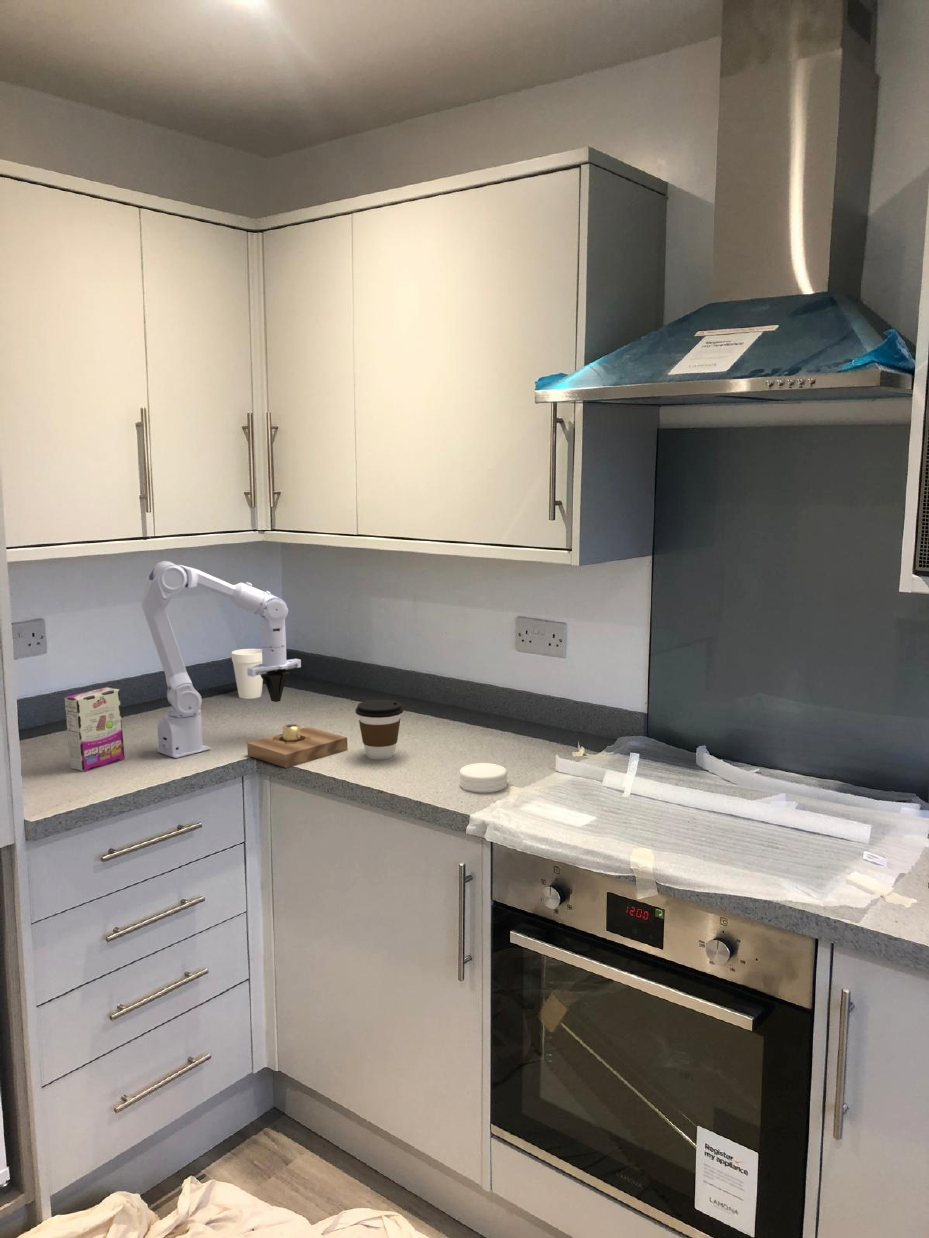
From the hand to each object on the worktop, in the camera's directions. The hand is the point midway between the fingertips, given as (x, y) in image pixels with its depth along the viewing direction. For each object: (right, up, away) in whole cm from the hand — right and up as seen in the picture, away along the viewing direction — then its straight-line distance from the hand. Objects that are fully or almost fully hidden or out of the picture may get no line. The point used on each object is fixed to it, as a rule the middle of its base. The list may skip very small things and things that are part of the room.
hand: (275, 700), depth 235 cm
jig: (+7, -11, -10) cm, 17 cm away
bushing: (+5, -11, -9) cm, 15 cm away
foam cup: (-16, -3, +45) cm, 48 cm away
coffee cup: (+26, -12, -12) cm, 31 cm away
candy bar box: (-36, -13, -18) cm, 43 cm away
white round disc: (+50, -15, -33) cm, 61 cm away
